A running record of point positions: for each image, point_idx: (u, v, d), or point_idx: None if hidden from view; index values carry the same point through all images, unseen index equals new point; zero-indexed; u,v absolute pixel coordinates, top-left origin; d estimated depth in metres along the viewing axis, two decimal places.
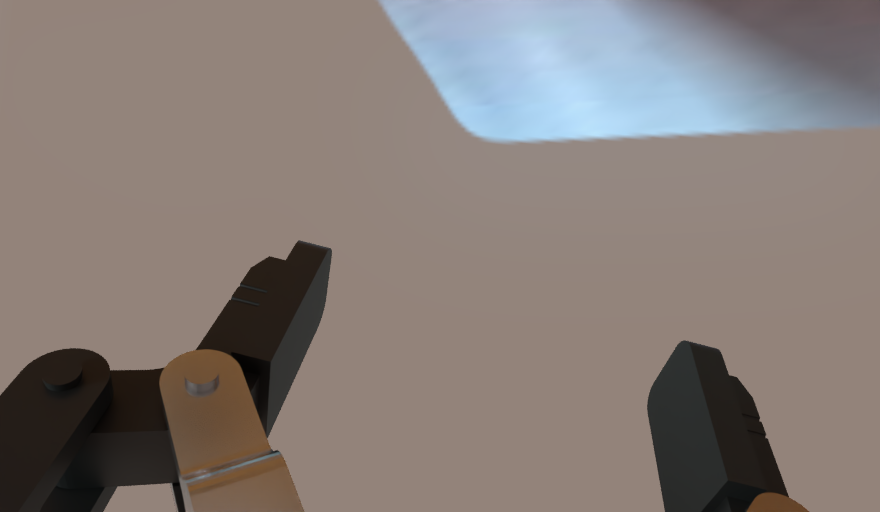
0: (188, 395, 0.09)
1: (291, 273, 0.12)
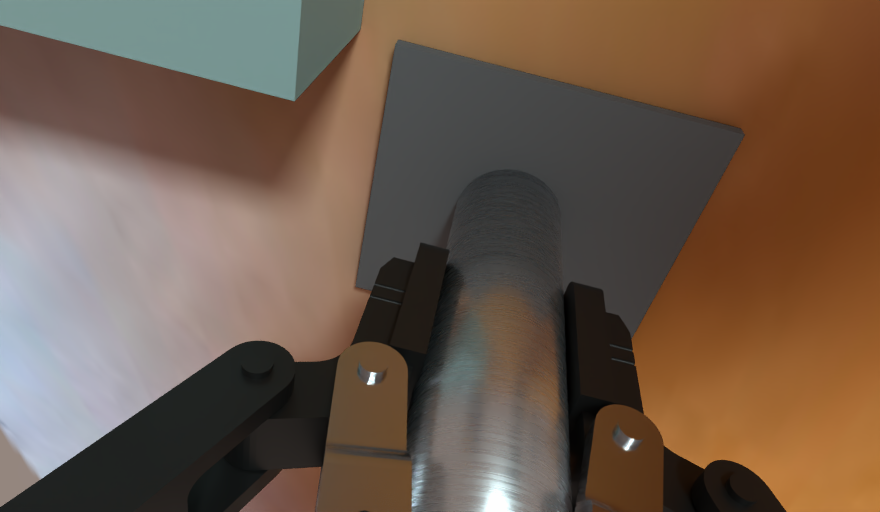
0: (366, 384, 0.10)
1: (423, 273, 0.13)
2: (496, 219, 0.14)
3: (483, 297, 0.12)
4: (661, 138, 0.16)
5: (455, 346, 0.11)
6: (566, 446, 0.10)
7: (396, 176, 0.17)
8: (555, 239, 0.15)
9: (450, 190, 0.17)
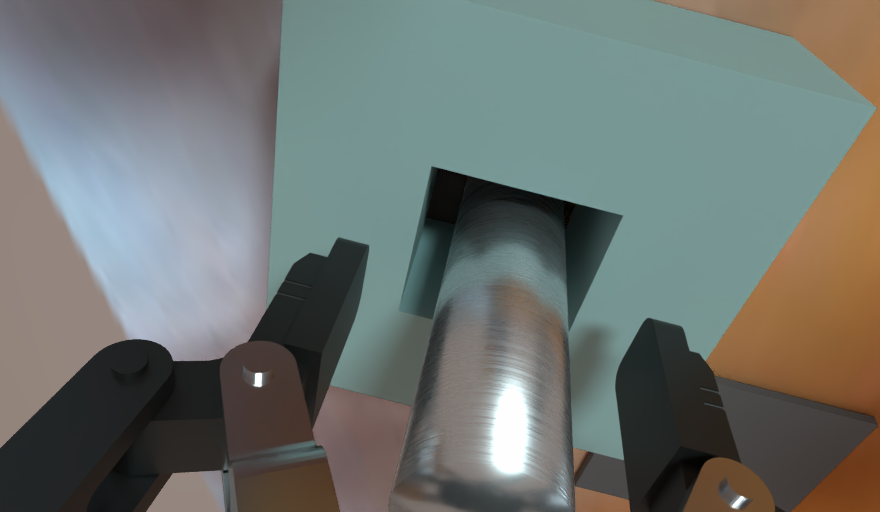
0: (248, 384, 0.09)
1: (334, 268, 0.12)
2: None
3: (495, 231, 0.14)
4: (820, 423, 0.23)
5: (473, 267, 0.13)
6: (566, 345, 0.12)
7: None
8: None
9: None
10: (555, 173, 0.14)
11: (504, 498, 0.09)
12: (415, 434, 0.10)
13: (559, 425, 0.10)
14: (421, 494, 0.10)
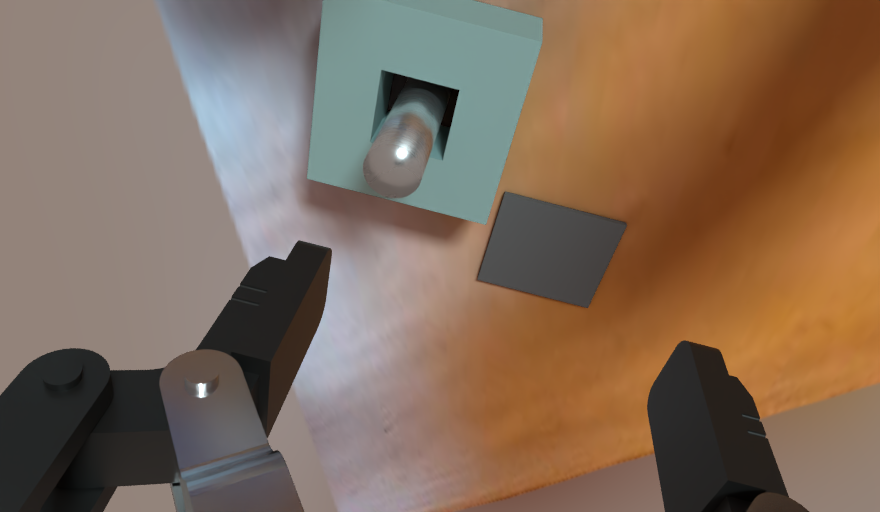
0: (188, 395, 0.09)
1: (291, 273, 0.12)
2: (418, 79, 0.37)
3: (408, 97, 0.35)
4: (598, 226, 0.44)
5: (397, 107, 0.34)
6: (430, 132, 0.33)
7: (499, 237, 0.45)
8: (443, 89, 0.38)
9: (520, 242, 0.45)
10: (430, 71, 0.34)
11: (398, 159, 0.30)
12: (371, 146, 0.31)
13: (419, 144, 0.31)
14: (373, 161, 0.30)
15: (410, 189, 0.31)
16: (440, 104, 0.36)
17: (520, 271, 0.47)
